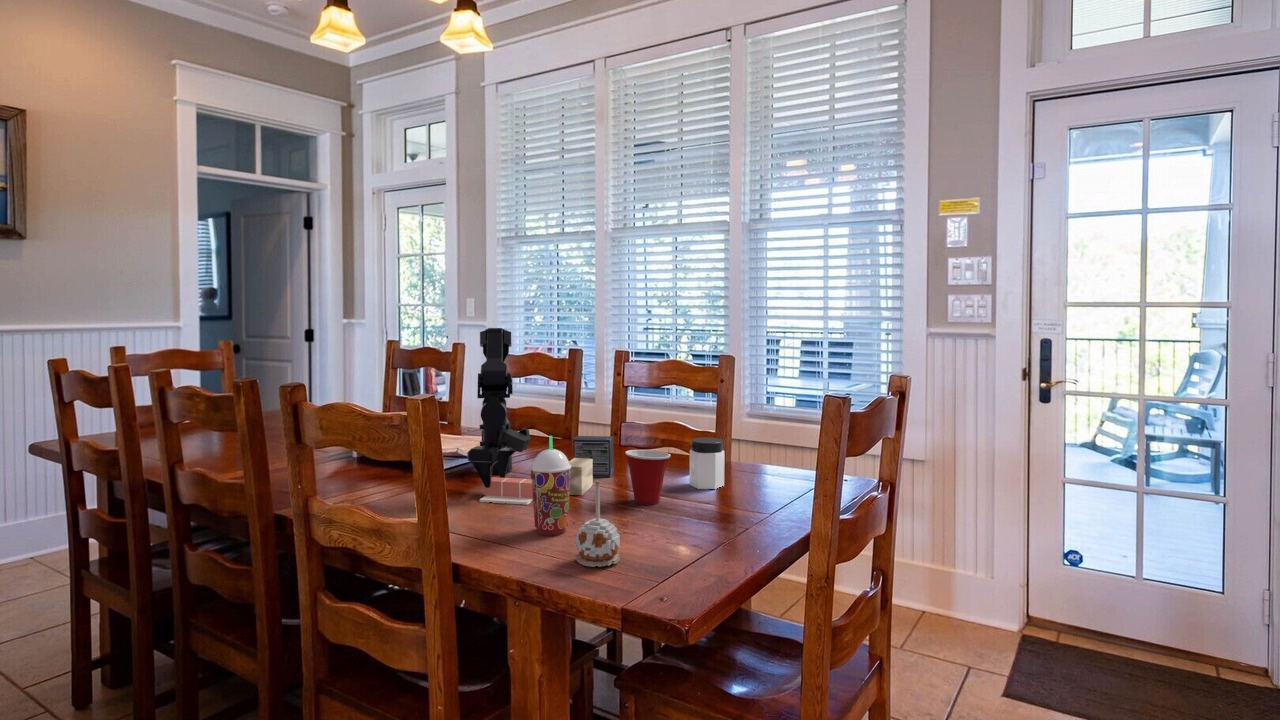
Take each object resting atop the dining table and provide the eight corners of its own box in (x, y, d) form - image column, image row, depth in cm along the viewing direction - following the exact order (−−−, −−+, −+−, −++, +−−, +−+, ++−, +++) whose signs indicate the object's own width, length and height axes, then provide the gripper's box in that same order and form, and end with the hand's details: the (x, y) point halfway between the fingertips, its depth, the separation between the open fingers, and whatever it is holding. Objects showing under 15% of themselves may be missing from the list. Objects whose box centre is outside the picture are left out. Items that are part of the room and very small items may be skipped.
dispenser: (539, 492, 181) (539, 465, 181) (552, 483, 191) (552, 456, 190) (581, 495, 179) (581, 467, 178) (592, 485, 189) (592, 458, 188)
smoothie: (554, 540, 145) (554, 441, 143) (522, 533, 149) (521, 437, 147) (579, 529, 152) (579, 434, 150) (548, 523, 156) (547, 431, 155)
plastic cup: (679, 503, 172) (679, 453, 171) (640, 510, 166) (640, 458, 165) (655, 493, 181) (655, 445, 180) (617, 499, 175) (617, 450, 175)
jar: (684, 483, 191) (685, 438, 190) (712, 480, 194) (712, 436, 194) (700, 491, 183) (701, 444, 182) (728, 488, 186) (729, 442, 185)
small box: (614, 472, 204) (614, 435, 203) (611, 477, 197) (611, 439, 197) (577, 471, 205) (576, 434, 204) (572, 476, 198) (572, 438, 198)
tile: (479, 501, 173) (479, 499, 173) (499, 489, 184) (499, 487, 184) (527, 504, 170) (527, 502, 170) (544, 492, 182) (544, 489, 182)
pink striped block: (483, 495, 177) (483, 480, 176) (490, 490, 181) (490, 476, 180) (538, 498, 174) (538, 483, 174) (544, 493, 178) (544, 479, 178)
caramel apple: (569, 565, 131) (568, 483, 130) (589, 552, 138) (588, 474, 137) (607, 572, 128) (607, 488, 127) (626, 558, 135) (626, 478, 134)
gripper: (511, 427, 166) (512, 494, 167) (539, 415, 184) (539, 475, 186) (466, 425, 168) (467, 491, 170) (497, 413, 187) (498, 473, 188)
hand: (495, 482), depth 178 cm, fingers open, 9 cm apart
